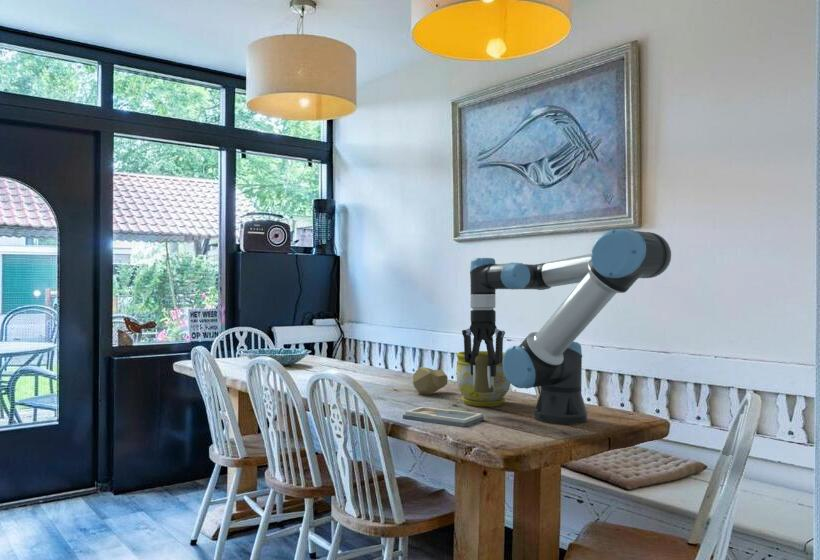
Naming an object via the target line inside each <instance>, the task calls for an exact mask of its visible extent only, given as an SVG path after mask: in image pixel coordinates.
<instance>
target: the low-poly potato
mask: <svg viewBox="0 0 820 560" xmlns="http://www.w3.org/2000/svg"><path fill="white" fill-rule="evenodd" d="M412 383H413V384H412V385H413V387H414V388H415V390H416V391H417V393H418V394H419V395H426V396H431V395H433V394H435V393H436V392H437V391H439V390H441V389H442V388H444V387H446V386H447V385H448V375H447V374H446V373H445V371H444V370H443V369H433V368H430V367H423V366H420V367H418V368H417V369H416V371H415V372H414V373H413V375H412Z"/></svg>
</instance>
